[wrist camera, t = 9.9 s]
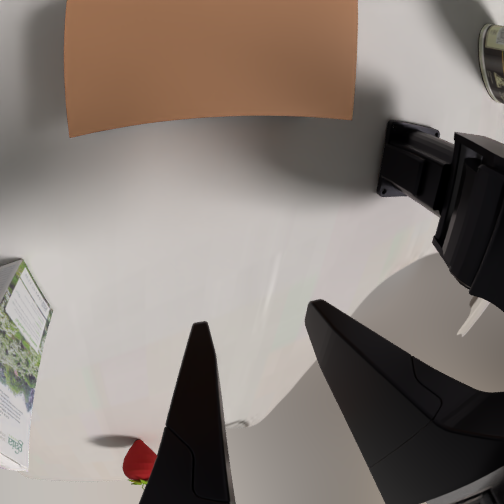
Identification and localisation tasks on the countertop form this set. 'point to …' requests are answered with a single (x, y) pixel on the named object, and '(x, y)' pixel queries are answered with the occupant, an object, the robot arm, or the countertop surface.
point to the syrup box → (19, 359)
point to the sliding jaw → (207, 60)
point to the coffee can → (492, 60)
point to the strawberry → (139, 463)
